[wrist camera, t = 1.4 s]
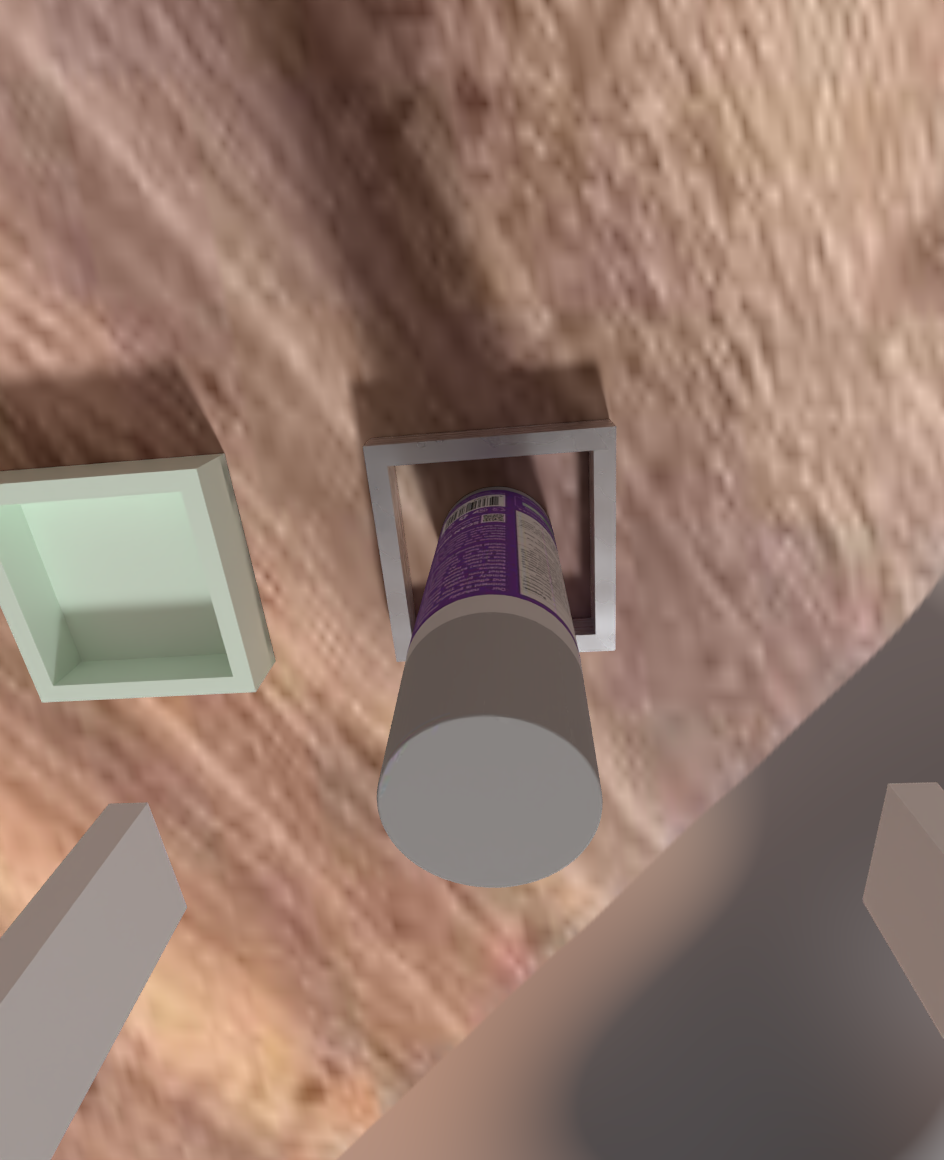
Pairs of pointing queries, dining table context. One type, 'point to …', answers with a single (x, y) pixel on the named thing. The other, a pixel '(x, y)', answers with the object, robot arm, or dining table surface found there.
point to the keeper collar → (498, 444)
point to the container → (492, 707)
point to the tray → (131, 580)
